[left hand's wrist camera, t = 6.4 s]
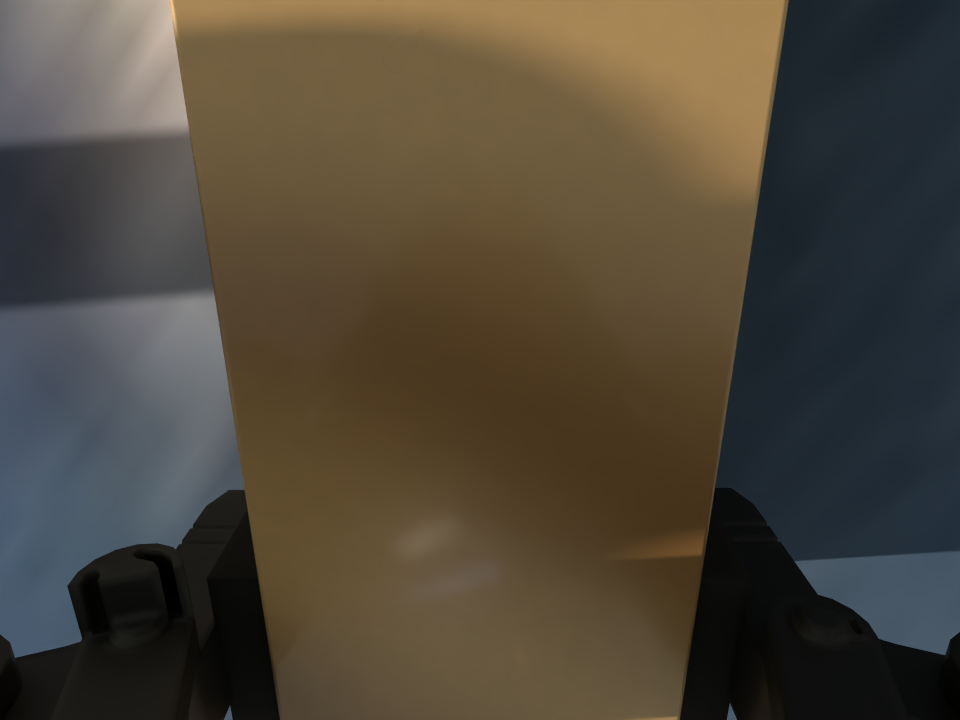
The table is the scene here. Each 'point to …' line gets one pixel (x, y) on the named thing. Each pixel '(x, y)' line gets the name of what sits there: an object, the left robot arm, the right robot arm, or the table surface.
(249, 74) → the board
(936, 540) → the table surface
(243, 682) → the left robot arm
